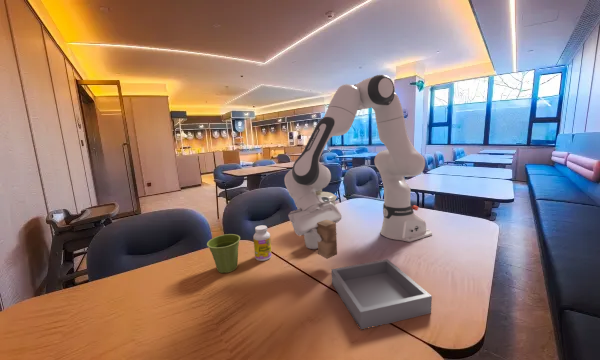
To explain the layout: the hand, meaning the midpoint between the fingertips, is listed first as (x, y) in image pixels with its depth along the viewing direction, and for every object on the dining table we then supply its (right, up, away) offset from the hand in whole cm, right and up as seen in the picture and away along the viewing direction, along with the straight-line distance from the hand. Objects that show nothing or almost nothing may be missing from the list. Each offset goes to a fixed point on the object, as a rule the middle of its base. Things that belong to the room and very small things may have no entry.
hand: (328, 238), depth 86 cm
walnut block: (0, -6, +2) cm, 6 cm away
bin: (+12, -14, -15) cm, 24 cm away
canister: (0, -5, +40) cm, 40 cm away
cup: (-3, -9, +19) cm, 21 cm away
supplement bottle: (-25, -11, +12) cm, 30 cm away
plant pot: (-37, -13, +5) cm, 40 cm away
